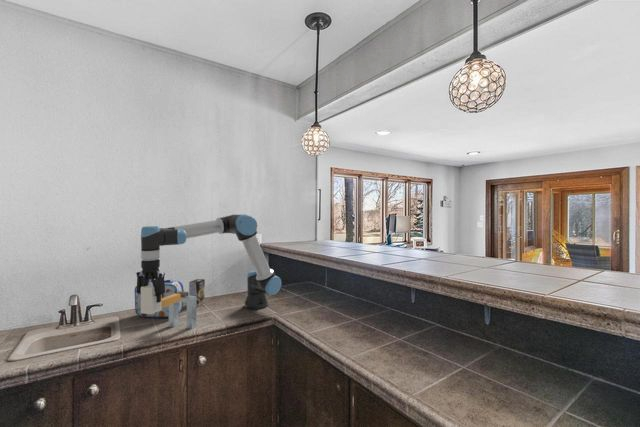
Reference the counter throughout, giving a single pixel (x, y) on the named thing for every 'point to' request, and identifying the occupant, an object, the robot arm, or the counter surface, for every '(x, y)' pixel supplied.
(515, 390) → the counter surface
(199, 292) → the coffee box
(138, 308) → the lunch box
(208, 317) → the counter surface
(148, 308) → the plug
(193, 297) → the housing
